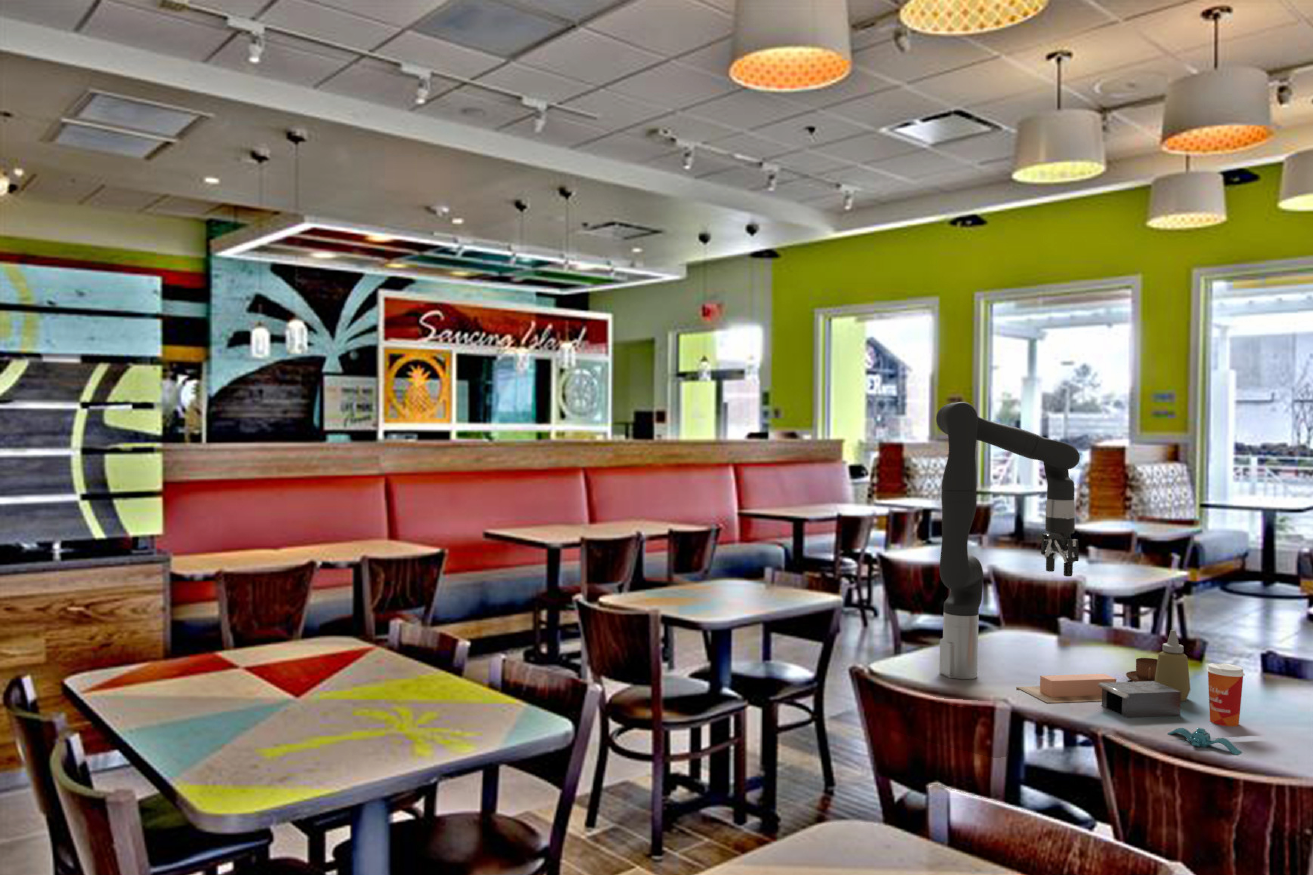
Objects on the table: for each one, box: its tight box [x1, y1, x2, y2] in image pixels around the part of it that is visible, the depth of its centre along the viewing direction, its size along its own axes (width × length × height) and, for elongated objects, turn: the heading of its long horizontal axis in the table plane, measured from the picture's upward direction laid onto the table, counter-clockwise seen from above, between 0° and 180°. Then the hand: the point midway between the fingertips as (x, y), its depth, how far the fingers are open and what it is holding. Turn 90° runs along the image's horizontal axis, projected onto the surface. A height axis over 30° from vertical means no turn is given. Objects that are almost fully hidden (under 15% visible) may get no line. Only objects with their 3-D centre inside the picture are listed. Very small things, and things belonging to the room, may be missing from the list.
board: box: [1015, 685, 1102, 704], centre depth 244 cm, size 26×14×1 cm, turn 100°
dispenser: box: [1098, 681, 1182, 719], centre depth 230 cm, size 15×10×7 cm
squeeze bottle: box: [1155, 629, 1191, 702], centre depth 241 cm, size 8×8×18 cm
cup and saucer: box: [1125, 657, 1158, 682], centre depth 259 cm, size 12×12×6 cm
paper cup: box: [1205, 662, 1246, 727], centre depth 221 cm, size 8×8×14 cm
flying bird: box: [1167, 727, 1243, 756], centre depth 208 cm, size 15×7×4 cm, turn 42°
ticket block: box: [1039, 673, 1117, 697], centre depth 244 cm, size 18×5×4 cm, turn 100°
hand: (1058, 573), depth 266 cm, fingers open, 8 cm apart
